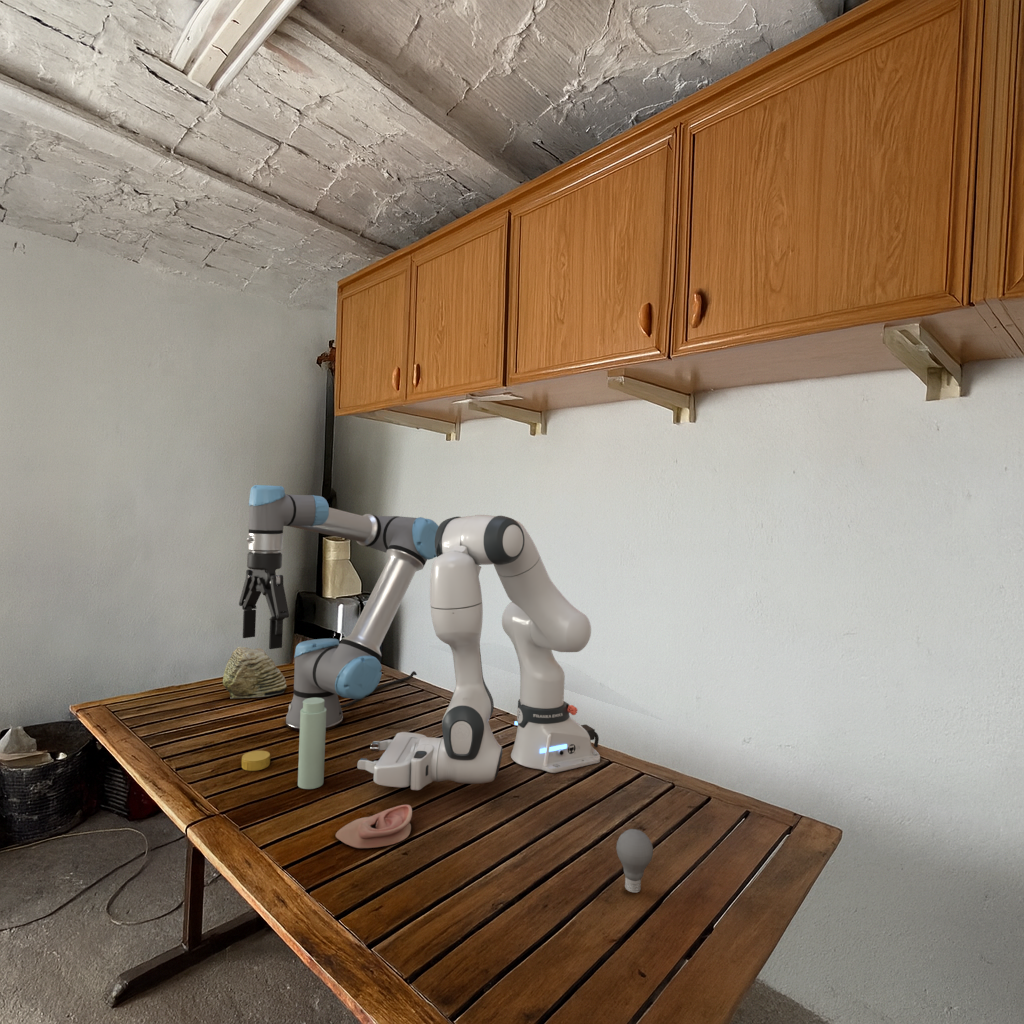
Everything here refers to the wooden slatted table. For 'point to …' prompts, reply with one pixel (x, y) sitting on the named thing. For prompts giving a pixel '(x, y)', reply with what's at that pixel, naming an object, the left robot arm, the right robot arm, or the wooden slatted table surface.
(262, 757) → the lid
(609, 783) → the wooden slatted table surface
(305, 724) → the pale green bottle
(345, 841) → the anatomical model
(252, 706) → the wooden slatted table surface
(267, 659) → the fossil
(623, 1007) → the wooden slatted table surface
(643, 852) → the light bulb
